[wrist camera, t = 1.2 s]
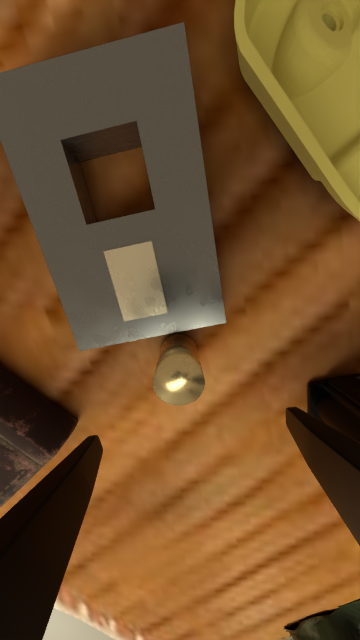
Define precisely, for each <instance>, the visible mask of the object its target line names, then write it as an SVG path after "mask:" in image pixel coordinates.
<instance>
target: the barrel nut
mask: <svg viewBox="0 0 360 640" xmlns="http://www.w3.org/2000/svg"><path fill="white" fill-rule="evenodd" d="M204 385H205V380H204V376H203V371H202V367H201V363H200V359H199V355H198V351H197V346H196V344H195V342H194V341H193V339H192V338H190V337H189V336H187V335H184V334H174V335H171V336H169V337H168V338H166V339H165V341H164V342H163V344H162V346H161V350H160V354H159V359H158V363H157V367H156V371H155V375H154V379H153V387H154V390H155V392H156V394H157V395H158V397H159V398H160V399H161V400H163V401H164V402H166V403H168V404H172V405H186V404H189V403H192V402H193V401H195V400H196V399H197V398H198V397H199V396H200V395H201V394H202V392H203V389H204Z"/></svg>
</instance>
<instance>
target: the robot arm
mask: <svg viewBox="0 0 360 640" xmlns="http://www.w3.org/2000/svg"><path fill="white" fill-rule="evenodd" d="M313 386H314V387H313ZM286 424H287V427H288V429H289V431H290V433H291V435H292V437H293V439H294V440H295V442H296V444H297V446H298V448H299V450H300V452H301V454H302V455H303V457H304V459H305V461H306V463H307V465H308V466H309V468H310V469H311V471H312V473H313V474H314V476H315V477H316V479H317V480H318V482H319V484H320V485H321V487H322V488H323V490H324V491H325V493H326V494H327V496H328V497H329V499H330V501H331V502H332V504H333V505H334V507H335V508H336V510H337V511H338V513H339V514H340V516H341V518H342V519H343V521H344V522H345V524H346V525H347V527H348V528H349V530H350V532H351V533H352V535H353V536H354V538H355V539H356V541H357V542H358V544H359V545H360V374H355V375H350V376H344V377H338V378H332V379H327V380H321V381H315V382H311V383H309V384H308V413H306V412H304V411H303V410H301V409H299V408H297V407H288V408H286ZM102 453H103V448H102V445H101V442H100V439H99V437H98V435H93V436H89V437H87V438H86V439H85V440H84V441H83V442H82V443H81V444H80V445H79V446H77V447H76V448H75V449H74V450H73V451H72V452H71V453H70V454H69V455H68V456H67V457H66V458H65V459H64V460H63V461H61V462H60V463H59V464H58V465H57V466H56V467H55V468H54V469H53V470H52V471H51V472H50V473H49V474H48V475H46V476H45V477H44V478H43V479H42V480H41V481H40V482H39V483H38V484H37V485H36V486H35V487H34V488H33V489H32V490H30V491H29V492H28V493H27V494H26V495H25V496H24V497H23V498H22V499H21V500H20V501H19V502H18V503H17V504H15V505H14V506H13V507H12V508H11V509H10V510H9V511H8V512H7V513H6V514H5V515H4V516H3V517H2V518H0V640H42V639H43V636H44V633H45V630H46V627H47V624H48V621H49V619H50V616H51V613H52V610H53V607H54V604H55V601H56V598H57V595H58V592H59V589H60V586H61V583H62V581H63V578H64V575H65V572H66V569H67V566H68V563H69V560H70V557H71V554H72V551H73V548H74V545H75V542H76V540H77V537H78V534H79V531H80V528H81V525H82V522H83V519H84V516H85V513H86V510H87V507H88V504H89V502H90V498H91V495H92V492H93V488H94V485H95V481H96V477H97V473H98V469H99V465H100V461H101V457H102Z"/></svg>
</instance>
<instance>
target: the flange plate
mask: <svg viewBox="0 0 360 640" xmlns="http://www.w3.org/2000/svg"><path fill="white" fill-rule="evenodd" d="M0 140H1V143H2V146H3V148H4V151H5V154H6V156H7V159H8V162H9V164H10V167H11V170H12V172H13V175H14V178H15V180H16V183H17V186H18V188H19V191H20V194H21V196H22V199H23V202H24V204H25V207H26V210H27V212H28V215H29V218H30V220H31V223H32V226H33V228H34V231H35V234H36V236H37V239H38V242H39V244H40V247H41V250H42V252H43V255H44V258H45V260H46V263H47V266H48V268H49V271H50V274H51V276H52V279H53V282H54V284H55V287H56V290H57V292H58V295H59V298H60V300H61V303H62V306H63V308H64V311H65V314H66V316H67V319H68V322H69V324H70V327H71V330H72V332H73V335H74V337H75V340H76V343H77V345H78V348H79V351H83V350H88V349H93V348H98V347H103V346H108V345H114V344H119V343H124V342H129V341H134V340H140V339H145V338H150V337H155V336H160V335H165V334H171V333H176V332H181V331H186V330H191V329H196V328H202V327H207V326H212V325H217V324H222V323H226V318H225V311H224V304H223V296H222V289H221V282H220V275H219V268H218V261H217V254H216V247H215V239H214V232H213V225H212V218H211V211H210V204H209V197H208V190H207V182H206V175H205V168H204V161H203V154H202V147H201V140H200V133H199V125H198V118H197V111H196V104H195V97H194V90H193V83H192V75H191V68H190V61H189V54H188V47H187V40H186V33H185V26H184V22H182V23H179V24H175V25H171V26H168V27H164V28H160V29H157V30H153V31H150V32H146V33H142V34H139V35H135V36H131V37H128V38H124V39H121V40H117V41H113V42H110V43H106V44H103V45H99V46H95V47H92V48H88V49H84V50H81V51H77V52H74V53H70V54H66V55H63V56H59V57H55V58H52V59H48V60H45V61H41V62H37V63H34V64H30V65H27V66H23V67H19V68H16V69H12V70H8V71H5V72H1V73H0ZM138 147H142V149H143V154H144V158H145V163H146V168H147V173H148V177H149V182H150V187H151V192H152V196H153V201H154V206H155V209H154V210H150V211H145V212H141V213H136V214H132V215H128V216H123V217H119V218H114V219H110V220H106V221H101V222H97V219H96V216H95V213H94V209H93V206H92V202H91V199H90V195H89V192H88V188H87V185H86V181H85V178H84V175H83V171H82V168H81V164H80V162H81V161H85V160H89V159H93V158H97V157H101V156H105V155H109V154H113V153H117V152H122V151H126V150H130V149H134V148H138Z"/></svg>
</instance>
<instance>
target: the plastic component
mask: <svg viewBox="0 0 360 640" xmlns="http://www.w3.org/2000/svg"><path fill="white" fill-rule="evenodd" d="M234 30H235V37H236V44H237V52H238V59H239V66H240V70H241V73H242V76H243V78H244V80H245V81H246V83H247V84H248V85H249V87H250V88H251V90H252V91H253V93H254V94H255V96H256V97H257V98H258V100H259V101H260V103H261V104H262V106H263V107H264V109H265V110H266V112H267V113H268V114H269V116H270V117H271V119H272V120H273V122H274V123H275V125H276V126H277V128H278V129H279V130H280V132H281V133H282V135H283V136H284V138H285V139H286V141H287V142H288V144H289V145H290V146H291V148H292V149H293V151H294V152H295V154H296V155H297V157H298V158H299V159H300V161H301V162H302V164H303V165H304V167H305V168H306V170H307V171H308V173H309V174H310V175H311V177H312V178H313V179H314V180H316V181H321V182H322V183H323V185H324V186H325V188H326V189H327V191H328V192H329V194H330V195H331V196H332V197H333V198H334V200H335V201H336V202H337V203H338V204H339V205H340V206H341V207H342V208H343V209H345V210H346V211H347V212H348V213H349V214H351V215H352V216H353V217H355V218H356V219H357V220H358V221H360V0H236V3H235V11H234Z"/></svg>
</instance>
